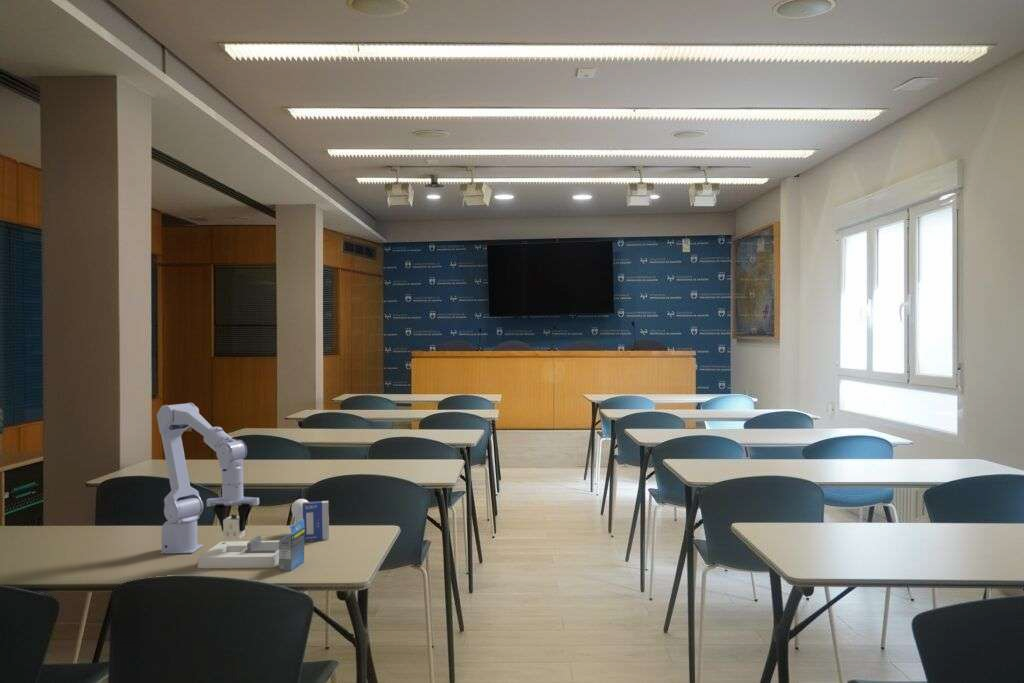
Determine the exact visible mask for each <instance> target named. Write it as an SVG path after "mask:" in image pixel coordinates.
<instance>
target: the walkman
mask: <svg viewBox="0 0 1024 683" xmlns="http://www.w3.org/2000/svg"><path fill="white" fill-rule="evenodd" d="M329 503H330V502H329V500H321V501H320V500H319V501H308V502H303V519H304V526H305V529H304V534H305V536H304V542H314V541H326V540H327V541H328V540H329V539H330V524H329V523H330V516H329V514H330V509H329V508H330V504H329Z"/></svg>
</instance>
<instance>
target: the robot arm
mask: <svg viewBox="0 0 1024 683" xmlns="http://www.w3.org/2000/svg"><path fill="white" fill-rule="evenodd" d="M156 419H157V420H156V421H157V424H158V430H159V434H161V435H160V436H161V441H162V446H163V452H164V458H165V462H166V469H167V474H168V479H169V485H170V490H171V491H169V493H168V494H167V495H166V496H165V497H164V499H163V502H164V507H163V514H164V516H165V519H166V521H165V522H164V523H163V524H162V528H161V551H160V554H193V553H194V552H196V551H197V550H199V549H200V548H202V547H203V546H204V543H203V544H199V543H198V542H199V540H198V519H200V515H201V514H202V513H203V511H204V503H203V500H202V499H201V497H200V496H201V495H200V492H199V490H197V489H196V488H194V487H192V486H191V484H190V477H189V472H188V467H187V461H186V457H185V451H184V445H183V440H182V435H183V434H184V432H185V431H187V430H188V429H189V428H190V427H191V429H193V430H195V431H196V432H197V433H199V434H200V435H202V436H203V442H204V444H206V445H208V447H210V448H211V450H213V451H215V453H216V458H217V460H218V463H219V468H220V469H221V493H222V494H221V497H214V498H213V497H211V498H207V499H206V507H213V506H214V508H213V510H212V511H213V512H214V514H215V516H216V517H217V519H218V522H219V524H220V527H221V532H222V533H223V520H224V519H226V518H228V513H229V506H238V507H237V511H238V516H239V519H240V531H244V530H245V531H246V524H247V520H248V518H249V515H250V512H251V510H252V508H253V506H254V507H255V506H258V505H260V497H252V496H244V467H243V466H244V460H245V459H246V458H247V454H248V447H247V445H246V443H245V442H244V441H243V440H242V439H233V437H232V436H230V435H229V434H228V433H226V432H225V431H224V429H223V428H222V427H221V426H212V425H211V424H210V423H209V422H208V421H207V420H206V419H205V418H204V417H203V415H201V414H200V409H199V407H198V406H197V405H195V404H194V403H193V402H187V403H178V404H169V405H168V404H164V405H161V407H160V408H159V409H158V412H157V414H156ZM179 498H180V499H179Z"/></svg>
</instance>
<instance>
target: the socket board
mask: <svg viewBox="0 0 1024 683" xmlns="http://www.w3.org/2000/svg"><path fill="white" fill-rule="evenodd" d="M250 541H251V540H247V541H246V540H242V541H241V540H236V541H234V540H233V541H231V540H230V541H220V542H219V543H217V544H215V545H214V546H212V547H211V548H209V549H208V550H206V551H205V552H204V553H202V554H200V555H199V556H197V569H241V568H242V569H244V568H245V569H246V568H248V569H250V568H251V569H252V568H254V569H255V568H263V569H264V568H274V567H275V566H276V565H278V564H279V550H277V551H276V552H270V553H245V550H247V543H248V542H250ZM261 542H279V540H261Z"/></svg>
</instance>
